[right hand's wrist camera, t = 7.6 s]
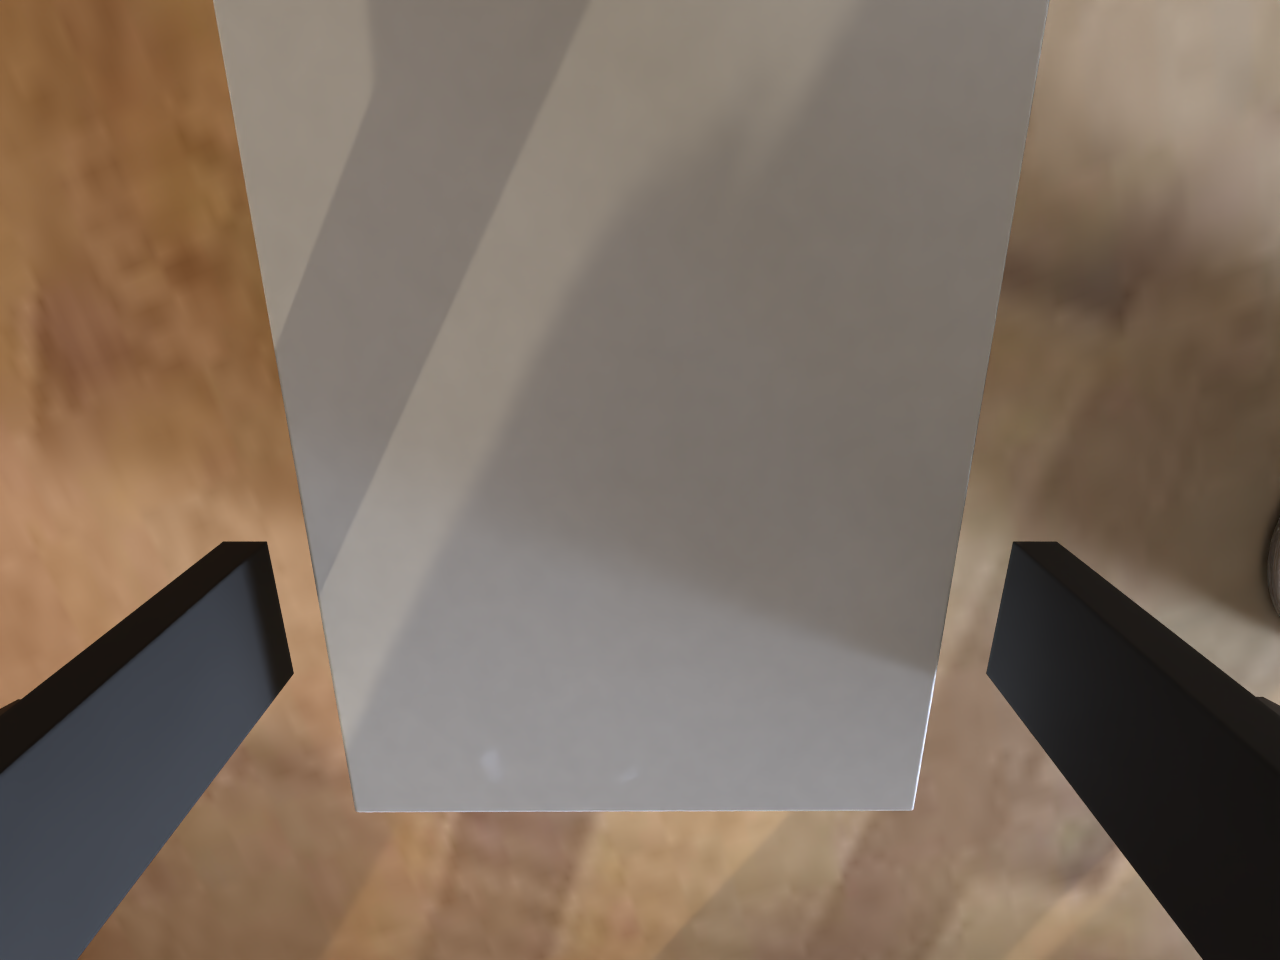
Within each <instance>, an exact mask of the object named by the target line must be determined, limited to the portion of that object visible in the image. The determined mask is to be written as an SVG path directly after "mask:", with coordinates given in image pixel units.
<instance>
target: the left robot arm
mask: <svg viewBox="0 0 1280 960" xmlns="http://www.w3.org/2000/svg"><path fill="white" fill-rule="evenodd" d="M1267 578H1268V587H1269V592H1270V596H1271V599H1272V603H1273V605H1274V607H1275V610H1276V612H1277V614H1278V616H1279V617H1280V518H1279V520H1278V522H1277V525H1276V527H1275V530H1274V533H1273V537H1272V540H1271V544H1270V549H1269V554H1268V565H1267Z"/></svg>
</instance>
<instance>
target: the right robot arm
mask: <svg viewBox="0 0 1280 960" xmlns="http://www.w3.org/2000/svg"><path fill="white" fill-rule="evenodd" d="M293 674H294V672H293V667H292V662H291V658H290V653H289V648H288V643H287V638H286V633H285V628H284V623H283V618H282V614H281V609H280V604H279V599H278V594H277V589H276V584H275V579H274V574H273V569H272V565H271V560H270V555H269V550H268V545H267V542H222V543H221V544H220V545H218V546H217V547H216V548H214V549H213V550H212V551H211V552H209V553H208V554H207V555H205V556H204V557H203V558H202V559H200V560H199V561H198V562H197V563H195V564H194V565H193V566H191V567H190V568H189V569H188V570H186V571H185V572H184V573H182V574H181V575H180V576H179V577H177V578H176V579H175V580H173V581H172V582H171V583H170V584H168V585H167V586H166V587H165V588H163V589H162V590H161V591H159V592H158V593H157V594H156V595H154V596H153V597H152V598H150V599H149V600H148V601H147V602H145V603H144V604H143V605H141V606H140V607H139V608H138V609H136V610H135V611H134V612H133V613H131V614H130V615H129V616H127V617H126V618H125V619H124V620H122V621H121V622H120V623H118V624H117V625H116V626H115V627H113V628H112V629H111V630H109V631H108V632H107V633H106V634H104V635H103V636H102V637H100V638H99V639H98V640H97V641H95V642H94V643H93V644H92V645H90V646H89V647H88V648H86V649H85V650H84V651H83V652H81V653H80V654H79V655H77V656H76V657H75V658H74V659H72V660H71V661H70V662H68V663H67V664H66V665H65V666H63V667H62V668H61V669H60V670H58V671H57V672H56V673H54V674H53V675H52V676H51V677H49V678H48V679H47V680H45V681H44V682H43V683H42V684H40V685H39V686H38V687H36V688H35V689H34V690H33V691H31V692H30V693H29V694H28V695H26V696H25V697H24V698H22V699H18V700H16V701H14V702H12V703H10V704H8V705H6V706H5V707H3V708H1V709H0V960H77V959H78V958H79V956H80V955H81V954H82V952H83V951H84V950H85V948H86V947H87V946H88V944H89V943H90V942H91V941H92V939H93V938H94V937H95V935H96V934H97V933H98V931H99V930H100V929H101V927H102V926H103V925H104V923H105V922H106V921H107V919H108V918H109V917H110V915H111V914H112V913H113V911H114V910H115V909H116V908H117V906H118V905H119V904H120V902H121V901H122V900H123V898H124V897H125V896H126V894H127V893H128V892H129V890H130V889H131V888H132V886H133V885H134V884H135V882H136V881H137V880H138V878H139V877H140V876H141V874H142V873H143V872H144V871H145V869H146V868H147V867H148V865H149V864H150V863H151V861H152V860H153V859H154V857H155V856H156V855H157V853H158V852H159V851H160V849H161V848H162V847H163V845H164V844H165V843H166V841H167V840H168V839H169V838H170V836H171V835H172V834H173V832H174V831H175V830H176V828H177V827H178V826H179V824H180V823H181V822H182V820H183V819H184V818H185V816H186V815H187V814H188V812H189V811H190V810H191V808H192V807H193V806H194V805H195V803H196V802H197V801H198V799H199V798H200V797H201V795H202V794H203V793H204V791H205V790H206V789H207V787H208V786H209V785H210V783H211V782H212V781H213V779H214V778H215V777H216V775H217V774H218V773H219V771H220V770H221V769H222V768H223V766H224V765H225V764H226V762H227V761H228V760H229V758H230V757H231V756H232V754H233V753H234V752H235V750H236V749H237V748H238V746H239V745H240V744H241V742H242V741H243V740H244V738H245V737H246V736H247V735H248V733H249V732H250V731H251V729H252V728H253V727H254V725H255V724H256V723H257V721H258V720H259V719H260V717H261V716H262V715H263V713H264V712H265V711H266V709H267V708H268V707H269V705H270V704H271V703H272V701H273V700H274V699H275V698H276V696H277V695H278V694H279V692H280V691H281V690H282V688H283V687H284V686H285V684H286V683H287V682H288V680H289V679H290V678H291V676H292V675H293ZM986 674H987V675H988V676H989V678H990V679H991V680H992V682H993V683H994V684H995V686H996V687H997V688H998V690H999V691H1000V692H1001V694H1002V695H1003V696H1004V698H1005V699H1006V700H1007V701H1008V703H1009V704H1010V705H1011V707H1012V708H1013V709H1014V711H1015V712H1016V713H1017V715H1018V716H1019V717H1020V719H1021V720H1022V721H1023V723H1024V724H1025V725H1026V727H1027V728H1028V729H1029V731H1030V732H1031V733H1032V735H1033V736H1034V737H1035V738H1036V740H1037V741H1038V742H1039V744H1040V745H1041V746H1042V748H1043V749H1044V750H1045V752H1046V753H1047V754H1048V756H1049V757H1050V758H1051V760H1052V761H1053V762H1054V764H1055V765H1056V766H1057V768H1058V769H1059V770H1060V771H1061V773H1062V774H1063V775H1064V777H1065V778H1066V779H1067V781H1068V782H1069V783H1070V785H1071V786H1072V787H1073V789H1074V790H1075V791H1076V793H1077V794H1078V795H1079V797H1080V798H1081V799H1082V801H1083V802H1084V803H1085V805H1086V806H1087V807H1088V808H1089V810H1090V811H1091V812H1092V814H1093V815H1094V816H1095V818H1096V819H1097V820H1098V822H1099V823H1100V824H1101V826H1102V827H1103V828H1104V830H1105V831H1106V832H1107V834H1108V835H1109V836H1110V838H1111V839H1112V840H1113V841H1114V843H1115V844H1116V845H1117V847H1118V848H1119V849H1120V851H1121V852H1122V853H1123V855H1124V856H1125V857H1126V859H1127V860H1128V861H1129V863H1130V864H1131V865H1132V867H1133V868H1134V869H1135V871H1136V872H1137V873H1138V874H1139V876H1140V877H1141V878H1142V880H1143V881H1144V882H1145V884H1146V885H1147V886H1148V888H1149V889H1150V890H1151V892H1152V893H1153V894H1154V896H1155V897H1156V898H1157V900H1158V901H1159V902H1160V904H1161V905H1162V906H1163V908H1164V909H1165V910H1166V911H1167V913H1168V914H1169V915H1170V917H1171V918H1172V919H1173V921H1174V922H1175V923H1176V925H1177V926H1178V927H1179V929H1180V930H1181V931H1182V933H1183V934H1184V935H1185V937H1186V938H1187V939H1188V941H1189V942H1190V943H1191V944H1192V946H1193V947H1194V948H1195V950H1196V951H1197V952H1198V954H1199V955H1200V956H1201V958H1202V959H1203V960H1280V706H1279V705H1277V704H1276V703H1274V702H1272V701H1270V700H1268V699H1266V698H1264V697H1255V696H1254V695H1252V694H1251V693H1250V692H1249V691H1247V690H1246V689H1245V688H1244V687H1242V686H1241V685H1240V684H1238V683H1237V682H1236V681H1235V680H1233V679H1232V678H1231V677H1229V676H1228V675H1227V674H1226V673H1224V672H1223V671H1222V670H1220V669H1219V668H1218V667H1217V666H1215V665H1214V664H1213V663H1212V662H1210V661H1209V660H1208V659H1206V658H1205V657H1204V656H1203V655H1201V654H1200V653H1199V652H1197V651H1196V650H1195V649H1194V648H1192V647H1191V646H1190V645H1188V644H1187V643H1186V642H1185V641H1183V640H1182V639H1181V638H1180V637H1178V636H1177V635H1176V634H1174V633H1173V632H1172V631H1171V630H1169V629H1168V628H1167V627H1165V626H1164V625H1163V624H1162V623H1160V622H1159V621H1158V620H1156V619H1155V618H1154V617H1153V616H1151V615H1150V614H1149V613H1147V612H1146V611H1145V610H1144V609H1142V608H1141V607H1140V606H1139V605H1137V604H1136V603H1135V602H1133V601H1132V600H1131V599H1130V598H1128V597H1127V596H1126V595H1124V594H1123V593H1122V592H1121V591H1119V590H1118V589H1117V588H1115V587H1114V586H1113V585H1112V584H1110V583H1109V582H1108V581H1107V580H1105V579H1104V578H1103V577H1101V576H1100V575H1099V574H1098V573H1096V572H1095V571H1094V570H1092V569H1091V568H1090V567H1089V566H1087V565H1086V564H1085V563H1083V562H1082V561H1081V560H1080V559H1078V558H1077V557H1076V556H1075V555H1073V554H1072V553H1071V552H1069V551H1068V550H1067V549H1066V548H1064V547H1063V546H1062V545H1060V544H1059V543H1058V542H1013V545H1012V550H1011V555H1010V560H1009V565H1008V569H1007V574H1006V579H1005V584H1004V589H1003V594H1002V599H1001V604H1000V609H999V614H998V618H997V623H996V628H995V633H994V638H993V643H992V648H991V653H990V658H989V662H988V667H987V672H986Z"/></svg>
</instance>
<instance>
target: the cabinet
mask: <svg viewBox="0 0 1280 960" xmlns="http://www.w3.org/2000/svg"><path fill="white" fill-rule="evenodd" d="M213 3H214V9H215V14H216V20H217V26H218V31H219V37H220V43H221V48H222V54H223V60H224V65H225V71H226V77H227V83H228V88H229V94H230V100H231V105H232V111H233V117H234V122H235V128H236V134H237V140H238V145H239V151H240V157H241V162H242V168H243V174H244V179H245V185H246V191H247V196H248V202H249V208H250V214H251V219H252V225H253V231H254V236H255V242H256V248H257V253H258V259H259V265H260V270H261V276H262V282H263V288H264V293H265V299H266V305H267V310H268V316H269V322H270V327H271V333H272V339H273V344H274V350H275V356H276V362H277V367H278V373H279V379H280V384H281V390H282V396H283V401H284V407H285V413H286V418H287V424H288V430H289V436H290V441H291V447H292V453H293V458H294V464H295V470H296V475H297V481H298V487H299V493H300V498H301V504H302V510H303V515H304V521H305V527H306V532H307V538H308V544H309V549H310V555H311V561H312V567H313V572H314V578H315V584H316V589H317V595H318V601H319V606H320V612H321V618H322V623H323V629H324V635H325V641H326V646H327V652H328V658H329V663H330V669H331V675H332V680H333V686H334V692H335V697H336V703H337V709H338V715H339V720H340V726H341V732H342V737H343V743H344V749H345V754H346V760H347V766H348V771H349V777H350V783H351V789H352V794H353V800H354V806H355V811H356V812H563V811H889V810H913V808H914V802H915V796H916V790H917V784H918V778H919V772H920V766H921V760H922V754H923V748H924V743H925V737H926V731H927V725H928V719H929V713H930V707H931V701H932V695H933V689H934V683H935V677H936V671H937V665H938V659H939V653H940V648H941V642H942V636H943V630H944V624H945V618H946V612H947V606H948V600H949V594H950V588H951V582H952V576H953V570H954V564H955V558H956V552H957V547H958V541H959V535H960V529H961V523H962V517H963V511H964V505H965V499H966V493H967V487H968V481H969V475H970V469H971V463H972V457H973V452H974V446H975V440H976V434H977V428H978V422H979V416H980V410H981V404H982V398H983V392H984V386H985V380H986V374H987V368H988V362H989V357H990V351H991V345H992V339H993V333H994V327H995V321H996V315H997V309H998V303H999V297H1000V291H1001V285H1002V279H1003V273H1004V267H1005V262H1006V256H1007V250H1008V244H1009V238H1010V232H1011V226H1012V220H1013V214H1014V208H1015V202H1016V196H1017V190H1018V184H1019V178H1020V172H1021V167H1022V161H1023V155H1024V149H1025V143H1026V137H1027V131H1028V125H1029V119H1030V113H1031V107H1032V101H1033V95H1034V89H1035V83H1036V77H1037V72H1038V66H1039V60H1040V54H1041V48H1042V42H1043V36H1044V30H1045V24H1046V18H1047V12H1048V6H1049V0H213Z"/></svg>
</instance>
